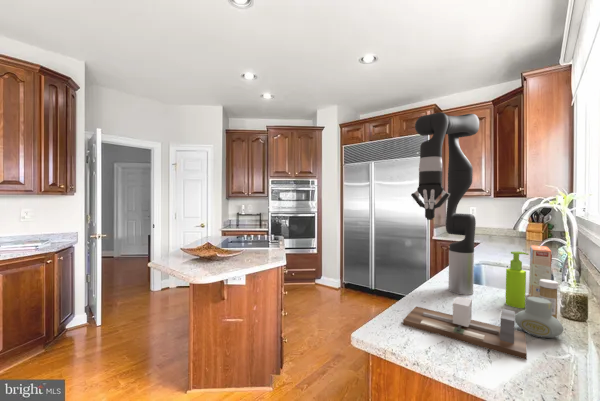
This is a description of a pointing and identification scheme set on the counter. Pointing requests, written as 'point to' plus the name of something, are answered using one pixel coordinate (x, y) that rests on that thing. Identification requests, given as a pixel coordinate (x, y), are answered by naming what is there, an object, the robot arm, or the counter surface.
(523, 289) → the soap dispenser
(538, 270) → the cracker box
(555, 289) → the sprinkles bottle
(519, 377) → the counter surface
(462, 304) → the block
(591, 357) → the counter surface
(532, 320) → the air freshener
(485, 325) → the base
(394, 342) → the counter surface
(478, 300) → the counter surface
